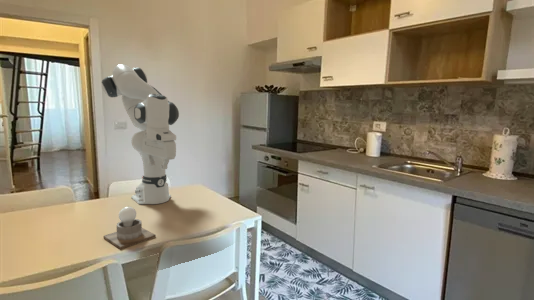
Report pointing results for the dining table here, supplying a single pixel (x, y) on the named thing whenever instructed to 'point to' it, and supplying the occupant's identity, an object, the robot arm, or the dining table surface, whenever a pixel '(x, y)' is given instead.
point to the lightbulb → (127, 216)
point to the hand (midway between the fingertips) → (158, 166)
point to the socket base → (129, 242)
